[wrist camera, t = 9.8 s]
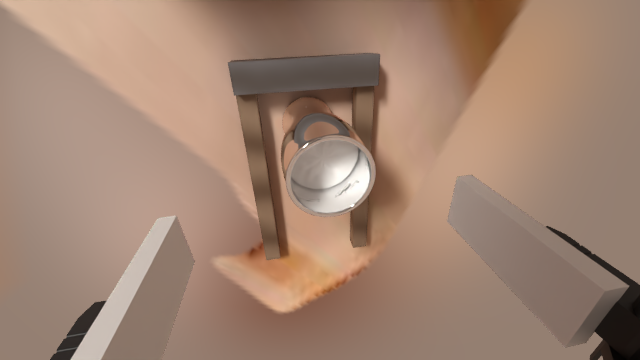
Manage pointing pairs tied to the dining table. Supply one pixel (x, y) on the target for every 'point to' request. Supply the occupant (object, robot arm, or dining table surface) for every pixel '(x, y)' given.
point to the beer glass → (324, 160)
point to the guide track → (300, 77)
